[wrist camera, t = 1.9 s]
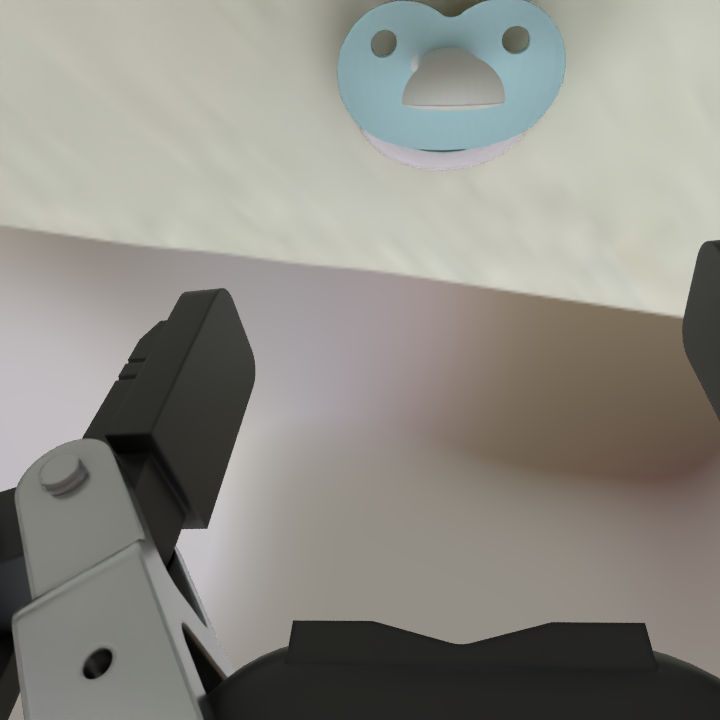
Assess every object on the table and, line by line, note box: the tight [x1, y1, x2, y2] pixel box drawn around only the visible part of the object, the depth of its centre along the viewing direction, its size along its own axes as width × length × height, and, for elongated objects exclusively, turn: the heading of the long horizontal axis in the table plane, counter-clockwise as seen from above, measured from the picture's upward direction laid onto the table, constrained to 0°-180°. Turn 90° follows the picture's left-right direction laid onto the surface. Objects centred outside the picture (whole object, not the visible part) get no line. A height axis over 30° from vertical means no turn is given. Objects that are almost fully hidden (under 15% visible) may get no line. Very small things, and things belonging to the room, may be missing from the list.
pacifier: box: [337, 0, 565, 170], centre depth 19 cm, size 7×6×6 cm
